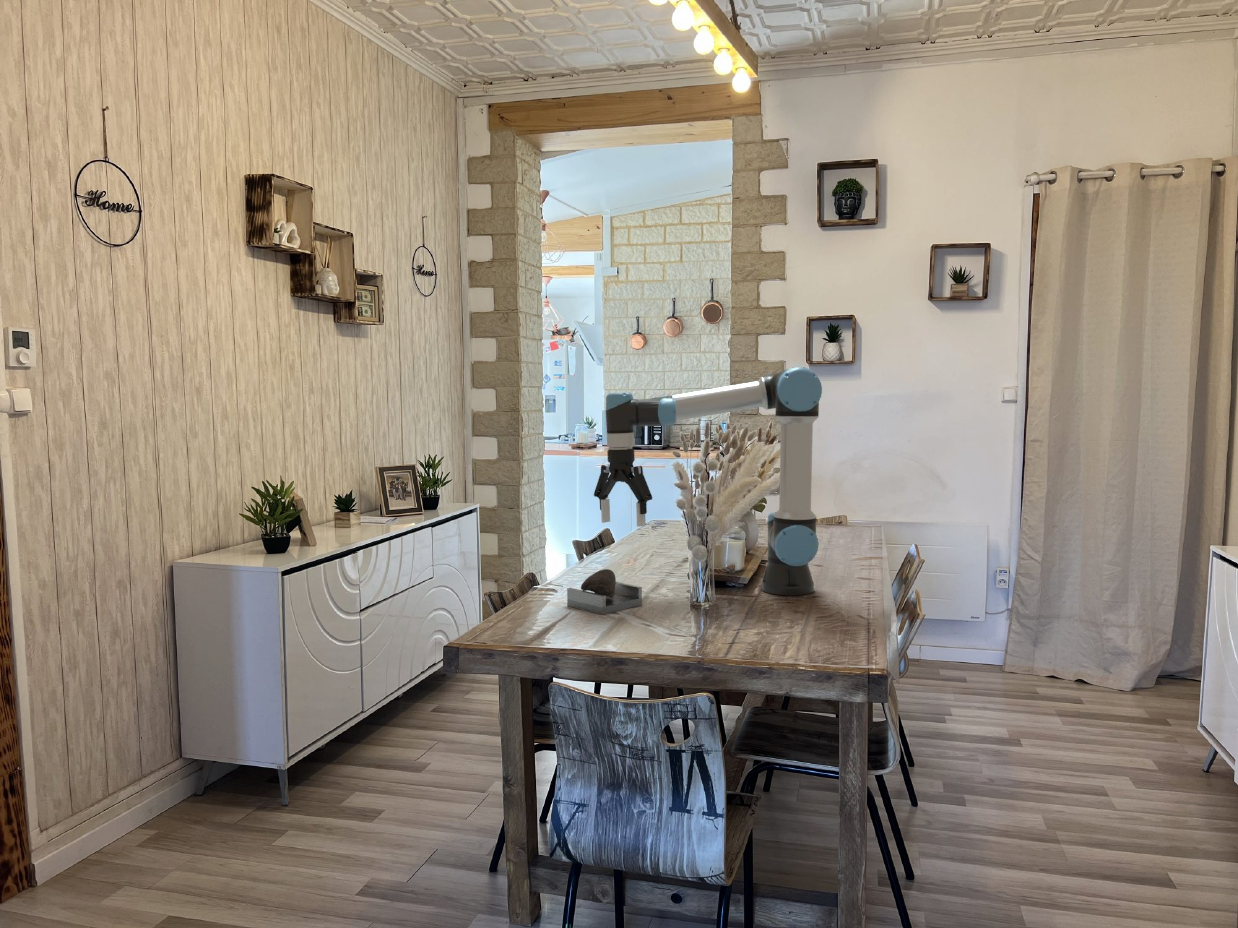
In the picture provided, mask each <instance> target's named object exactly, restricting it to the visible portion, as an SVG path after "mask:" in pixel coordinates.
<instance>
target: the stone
mask: <svg viewBox="0 0 1238 928" xmlns="http://www.w3.org/2000/svg"><path fill="white" fill-rule="evenodd" d="M616 582H617V581H616V575H615V572H614V571H613V570H612V569H608V568H607V569H600V570H598V571H597V572H594V573H593V574H591V575H590V576H588V577H587V578H585V580H584V581H583V582H582V583H581V586H580V590H583V591H587V592H592V593H596V594H601V595H605V596H608V597H610V598H612V597H613V596H614V592H615V584H616Z"/></svg>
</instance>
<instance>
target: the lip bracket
mask: <svg viewBox="0 0 1238 928" xmlns="http://www.w3.org/2000/svg"><path fill="white" fill-rule="evenodd" d="M642 589H643V588H642V586H638V585H633V584H629V583H625V582H619V581H616V584H615V592H614V596H613V597H612V598H610V597H608V596H605V595H601V594H596V593H594V592H592V591H587V590H586V591H583V590H582V589H577V588H573V587H568V588H566V592H567V593H566V594H567V595H566V596H567V597H566V598H567V599H566V602H567V607H569V608H573V609H576V610H581V611H585V612H588V613H589V612H590V613H593V614H596V615H597V614H598V615H601V616H604V615H607V614H612V613H615V612H620V611H623V610H627V609H630V608H635V607H639V606H642V605H643V595H642V593H643V591H642Z"/></svg>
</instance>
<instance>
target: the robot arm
mask: <svg viewBox="0 0 1238 928" xmlns="http://www.w3.org/2000/svg"><path fill="white" fill-rule="evenodd" d="M822 385H823V384H822V382H821V380H820V378H819V377H818V375H817V374H816V373H815V372H814V371H813V370H811V369H809V368H807V367H804V366H803V367H802V366H794V367H793V366H792V367H789V368H787V369H784V370H782V371H779V372H776V373H773V374H768V375H764V376H760V378H758V380H755V381H750V382H742V383H737V384H730V385H725V386H720V387H714V388H713V387H712V388H709V389H708V388H706V389H702V390H696V391H689V392H683V393H678V394H672V395H666V396H660V397H652V398H641V399H639V398H637V399H636V398H634V397H633V393H632V392H610V393H607V395H606V397H605V420H606V421H605V424H606V446H607V448H608V449H607V453H606V454H607V462H608V464H603V465H602V464H601V466H600V473H599V477H598V480H597V483H596V486H595V489H594V492H593V496H594V497H595V498H598V500H599V509H600V511H601V513H600V514H601V523H603V524H604V523H610V522H611V510H610V509H611V508H610V507H611V505H610V498H609V495H610V493H611V492H612V490H613V488H614V486H616V484H617V483H618V482H620V483H625V484H627V486H628V487H629V489H630V490H631V492H632V493H633V495H634V496H635V498H636V500H637V502H636V503H635V505H636V506H635V509H636V527H643V526H644V527H645V526H646V514H647V512H648V511H647V505H648V503H647V502H649V501H651V500H653V495H652V493H651V491H650V488H649V485H648V483H647V480H646V477H645V475H644V470H643V469H644V468H643V466H642V465H637V466H634V464H633V463H634V462H635V461H636V460H635V449H634V448H633V447H634V446H635V439H634V438H635V437H634V436H635V435H634V428H635V427H660V426H661V427H665V426H666V427H667V426H674V425H676V423H677V421H682V420H689V419H695V418H700V417H708V416H714V415H719V414H726V413H727V414H728V413H732V412H738V411H743V410H750V409H757V408H763V409H765V410H766V411H767V410H772V409H774V410H775V416H774V417H775V418H776V419H777V420H778V421H779V423H780V443H779V444H780V452H779V453H780V454H779V456H780V457H779V498H778V499H779V500H778V501H779V505H778V506H779V509H778V510H776V512H771V513H769V514H768V515H767V521H766V524H767V564H766V567H765V571H764V574H763V578H762V579H761V590H762V591H763V592H765V593H767V594H773V595H779V596H802V595H803V596H804V595H809V594H812V593H813V592H814V591H815V582H814V579H813V576H812V572H811V570H810V569H811V568H810V567H809V563H810V562H812V560H813V559H815V557H816V555H817V553H818V551H819V539H818V537H817V536H818V535H817V515H816V514H815V513H814V511H812V480H813V479H812V478H813V477H812V471H813V469H812V468H813V434H814V433H813V432H814V431H813V430H814V429H813V427H814V426H813V425H814V422H815V421H816V420H818V418H819V415H820V414H819V412H820V411H819V409H820V401H821V398H822V395H823V386H822Z"/></svg>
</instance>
